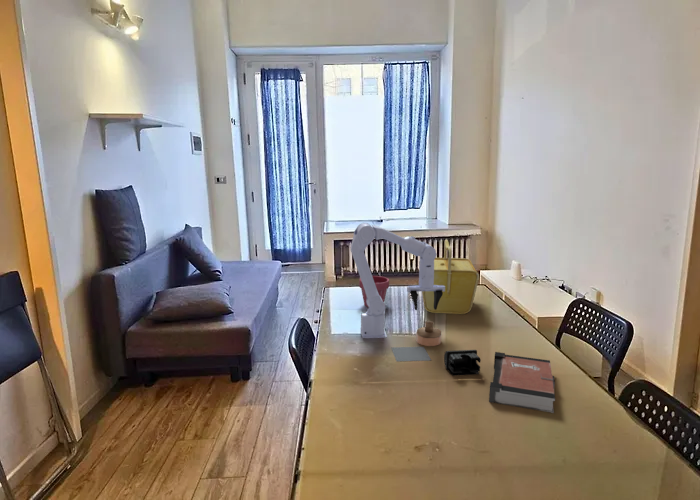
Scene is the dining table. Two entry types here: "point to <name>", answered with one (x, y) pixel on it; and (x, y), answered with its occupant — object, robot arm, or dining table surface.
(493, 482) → the dining table surface
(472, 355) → the end cap
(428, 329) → the lid
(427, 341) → the bowl
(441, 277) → the picnic basket
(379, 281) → the plant pot
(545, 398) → the book
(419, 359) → the mat
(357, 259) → the robot arm
